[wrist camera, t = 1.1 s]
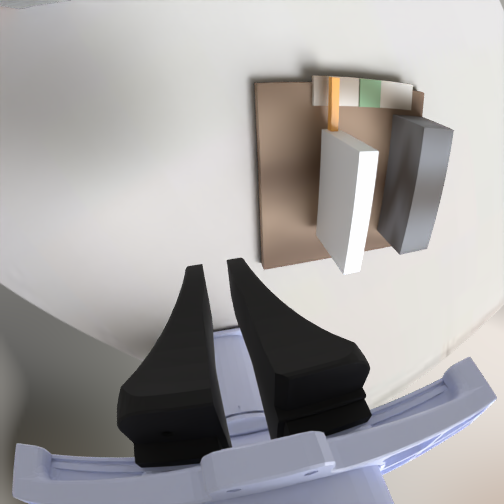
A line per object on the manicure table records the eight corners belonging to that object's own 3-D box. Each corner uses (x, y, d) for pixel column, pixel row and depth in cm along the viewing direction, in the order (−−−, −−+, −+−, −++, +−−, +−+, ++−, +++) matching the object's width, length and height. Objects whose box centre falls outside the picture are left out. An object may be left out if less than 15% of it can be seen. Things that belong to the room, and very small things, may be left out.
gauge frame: (394, 240, 27) (420, 267, 24) (261, 263, 25) (276, 300, 22) (418, 85, 19) (457, 96, 15) (253, 75, 17) (273, 79, 13)
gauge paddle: (330, 232, 23) (359, 271, 19) (315, 234, 23) (343, 274, 19) (339, 77, 16) (383, 86, 13) (322, 76, 16) (363, 84, 12)
